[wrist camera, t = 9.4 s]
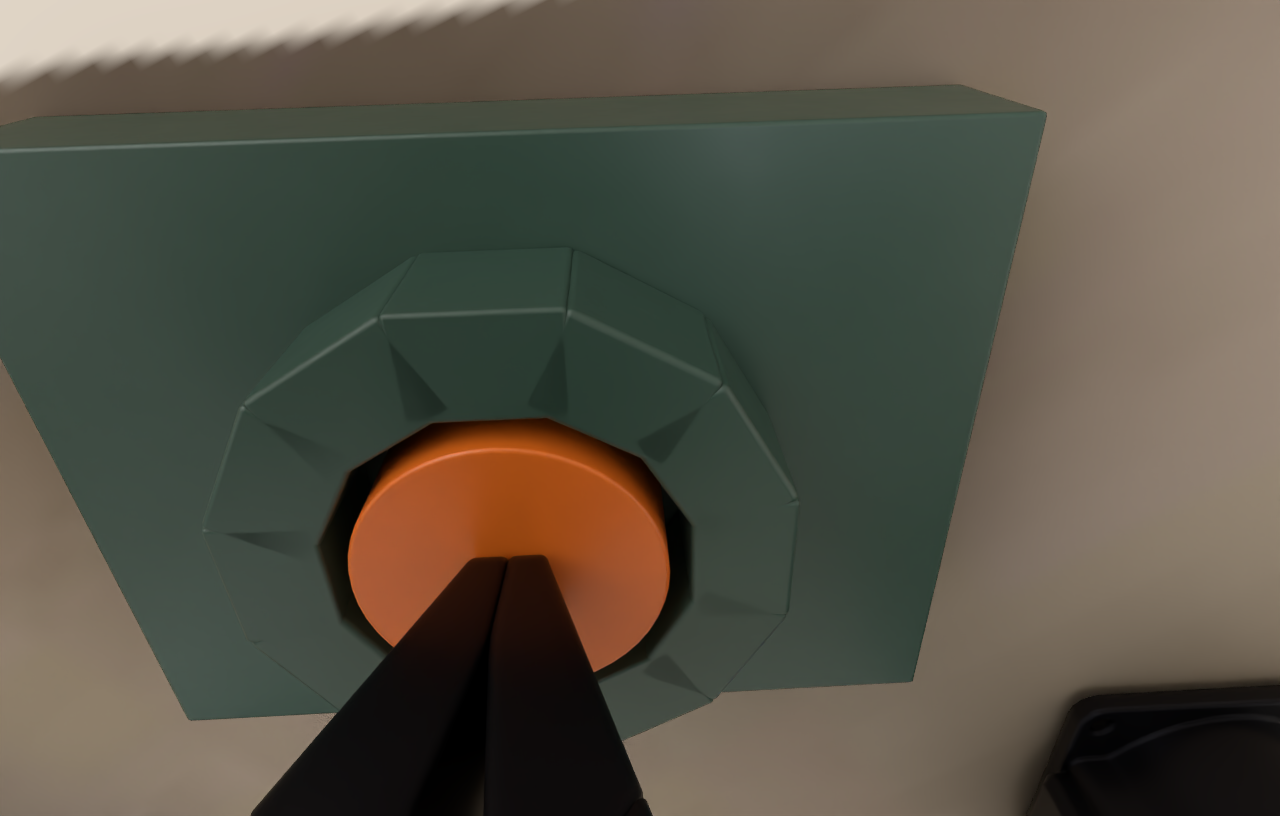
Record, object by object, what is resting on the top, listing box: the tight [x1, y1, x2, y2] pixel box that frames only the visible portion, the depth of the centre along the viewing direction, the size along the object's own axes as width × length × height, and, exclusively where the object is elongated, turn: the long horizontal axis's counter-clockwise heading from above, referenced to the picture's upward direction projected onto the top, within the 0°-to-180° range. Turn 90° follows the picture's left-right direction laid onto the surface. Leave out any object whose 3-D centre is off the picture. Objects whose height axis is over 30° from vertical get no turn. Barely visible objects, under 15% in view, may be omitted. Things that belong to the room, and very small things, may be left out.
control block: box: [0, 85, 1047, 741], centre depth 10 cm, size 12×9×4 cm
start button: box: [348, 418, 670, 672], centre depth 9 cm, size 4×4×2 cm
